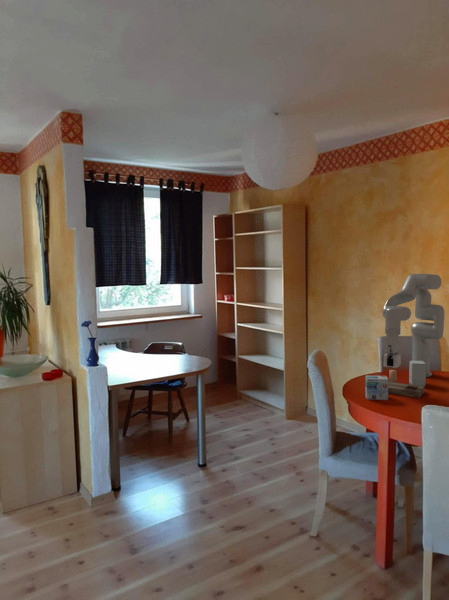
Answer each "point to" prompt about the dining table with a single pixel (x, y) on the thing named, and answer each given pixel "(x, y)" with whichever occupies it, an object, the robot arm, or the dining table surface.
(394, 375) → the tan rounded egg shape
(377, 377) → the light bulb box
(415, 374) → the supplement box
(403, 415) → the dining table surface
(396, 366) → the cover
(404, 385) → the board
